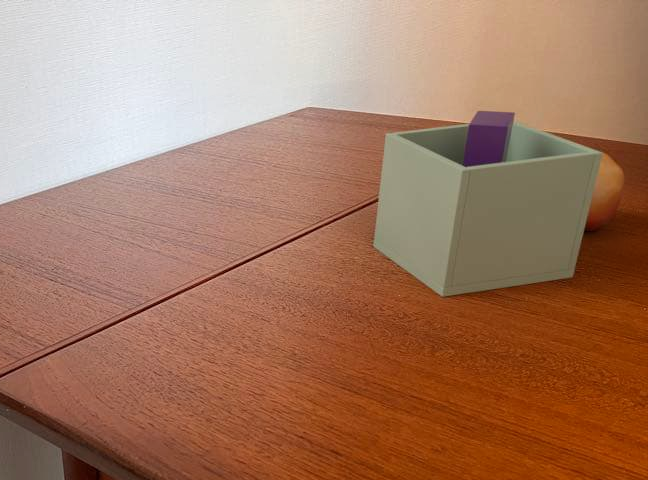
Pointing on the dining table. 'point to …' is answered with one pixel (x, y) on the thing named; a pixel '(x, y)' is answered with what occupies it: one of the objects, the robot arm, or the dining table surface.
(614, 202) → the fruit
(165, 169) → the dining table surface
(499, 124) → the purple rectangular block
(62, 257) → the dining table surface
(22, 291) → the dining table surface
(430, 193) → the bin
